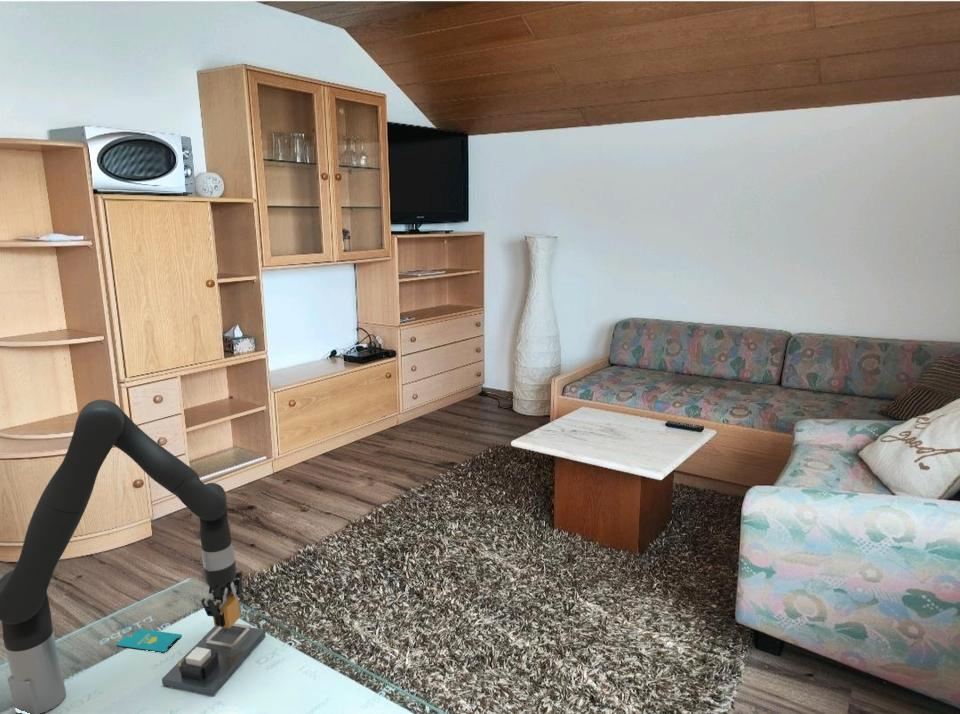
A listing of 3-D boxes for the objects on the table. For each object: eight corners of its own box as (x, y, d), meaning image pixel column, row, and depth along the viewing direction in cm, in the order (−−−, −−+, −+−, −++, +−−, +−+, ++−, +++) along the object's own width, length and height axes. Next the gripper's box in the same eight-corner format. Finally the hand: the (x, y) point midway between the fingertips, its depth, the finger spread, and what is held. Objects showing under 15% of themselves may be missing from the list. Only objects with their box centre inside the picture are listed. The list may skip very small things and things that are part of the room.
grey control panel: (213, 696, 156) (210, 678, 155) (162, 685, 160) (160, 668, 158) (265, 636, 177) (263, 620, 175) (219, 628, 180) (217, 612, 179)
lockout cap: (229, 628, 169) (226, 607, 167) (214, 625, 170) (211, 605, 168) (240, 617, 173) (237, 597, 171) (225, 614, 174) (222, 594, 173)
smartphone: (133, 627, 180) (183, 633, 177) (134, 629, 181) (183, 636, 178) (114, 645, 173) (165, 652, 170) (115, 648, 174) (165, 655, 171)
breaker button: (201, 674, 159) (199, 660, 158) (187, 671, 160) (185, 657, 159) (212, 663, 163) (210, 649, 162) (198, 660, 164) (196, 646, 163)
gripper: (223, 544, 175) (231, 601, 179) (187, 574, 161) (196, 635, 166) (248, 548, 173) (255, 605, 177) (214, 579, 159) (222, 639, 164)
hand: (226, 619), depth 171 cm, fingers closed on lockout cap, 4 cm apart
